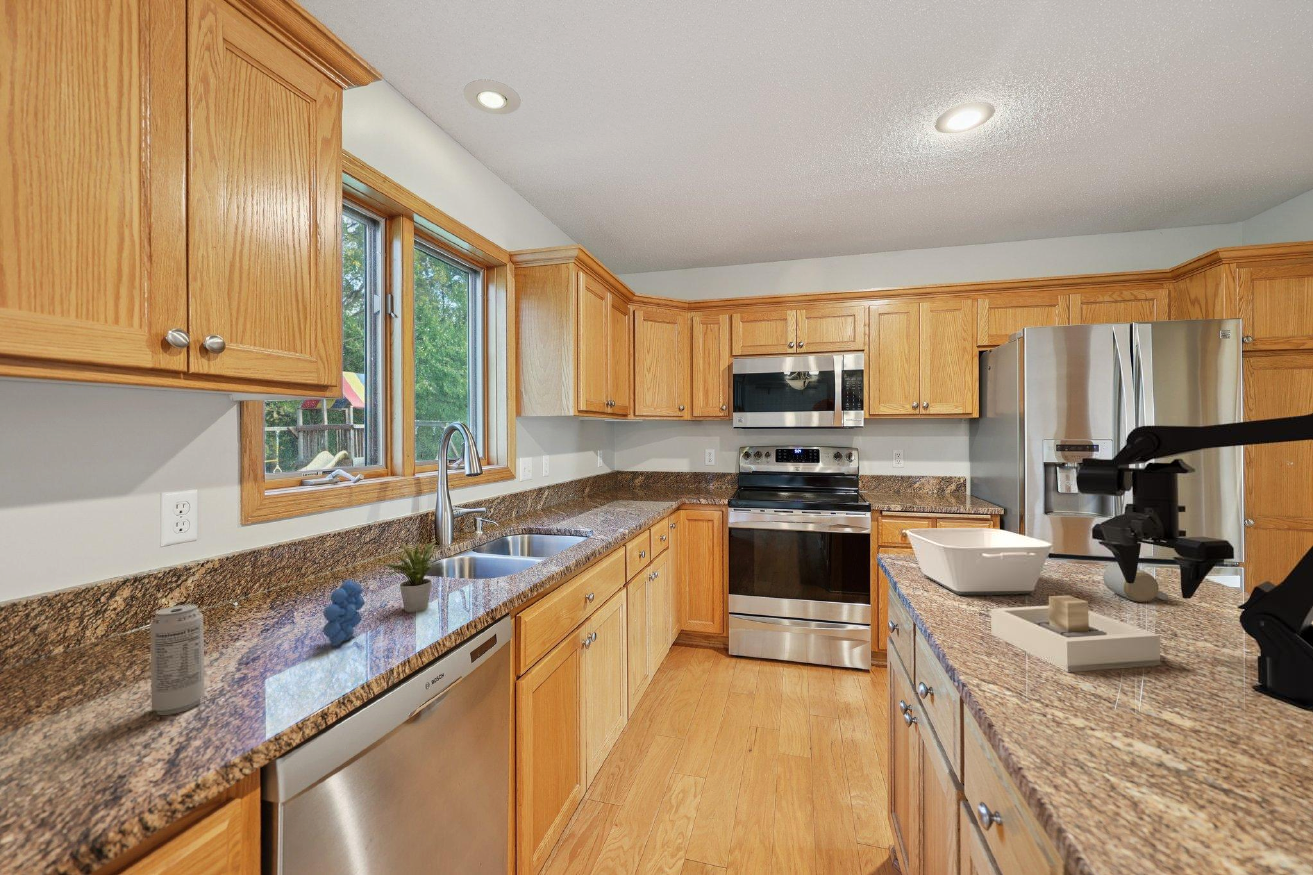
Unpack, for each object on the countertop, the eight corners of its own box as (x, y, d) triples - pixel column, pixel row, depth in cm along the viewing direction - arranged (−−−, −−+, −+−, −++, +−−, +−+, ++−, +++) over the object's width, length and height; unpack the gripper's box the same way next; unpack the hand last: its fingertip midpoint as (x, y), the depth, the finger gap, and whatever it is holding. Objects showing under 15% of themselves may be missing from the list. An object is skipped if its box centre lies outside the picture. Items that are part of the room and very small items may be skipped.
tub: (1077, 606, 120) (1076, 549, 120) (957, 607, 121) (955, 551, 121) (988, 569, 154) (987, 525, 154) (894, 570, 155) (893, 526, 155)
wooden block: (1089, 646, 94) (1088, 601, 94) (1068, 648, 94) (1067, 603, 94) (1069, 638, 98) (1068, 595, 98) (1049, 639, 98) (1048, 596, 98)
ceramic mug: (1125, 603, 121) (1125, 569, 121) (1102, 592, 129) (1102, 561, 129) (1179, 605, 119) (1179, 571, 119) (1152, 594, 127) (1152, 562, 127)
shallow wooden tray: (1160, 665, 89) (1159, 635, 89) (1067, 672, 87) (1066, 641, 87) (1070, 629, 106) (1070, 604, 106) (991, 634, 104) (990, 608, 104)
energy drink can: (207, 693, 86) (205, 600, 86) (201, 708, 81) (199, 610, 81) (156, 704, 82) (155, 607, 82) (147, 721, 77) (145, 618, 77)
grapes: (341, 630, 113) (340, 574, 114) (372, 630, 113) (371, 574, 113) (304, 652, 102) (303, 590, 102) (339, 652, 102) (338, 589, 102)
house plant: (408, 597, 137) (407, 534, 137) (458, 598, 135) (457, 534, 136) (371, 615, 123) (370, 545, 123) (427, 617, 121) (425, 545, 121)
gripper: (1064, 494, 99) (1066, 578, 99) (1171, 507, 80) (1173, 610, 80) (1118, 492, 100) (1120, 575, 100) (1236, 504, 82) (1238, 606, 82)
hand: (1157, 590), depth 90 cm, fingers open, 9 cm apart
